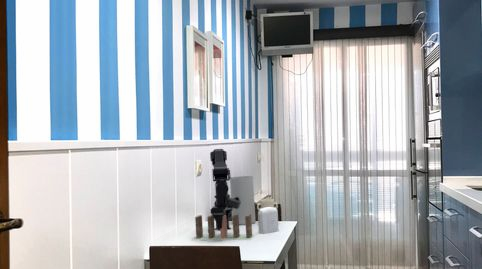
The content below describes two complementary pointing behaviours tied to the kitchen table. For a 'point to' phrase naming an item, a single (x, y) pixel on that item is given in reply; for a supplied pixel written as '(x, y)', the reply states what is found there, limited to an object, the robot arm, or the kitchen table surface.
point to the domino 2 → (211, 226)
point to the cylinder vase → (243, 197)
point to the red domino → (224, 228)
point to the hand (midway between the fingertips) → (223, 226)
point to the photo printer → (268, 220)
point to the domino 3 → (236, 226)
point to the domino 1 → (199, 226)
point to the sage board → (229, 237)
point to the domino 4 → (248, 226)
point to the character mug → (267, 203)
